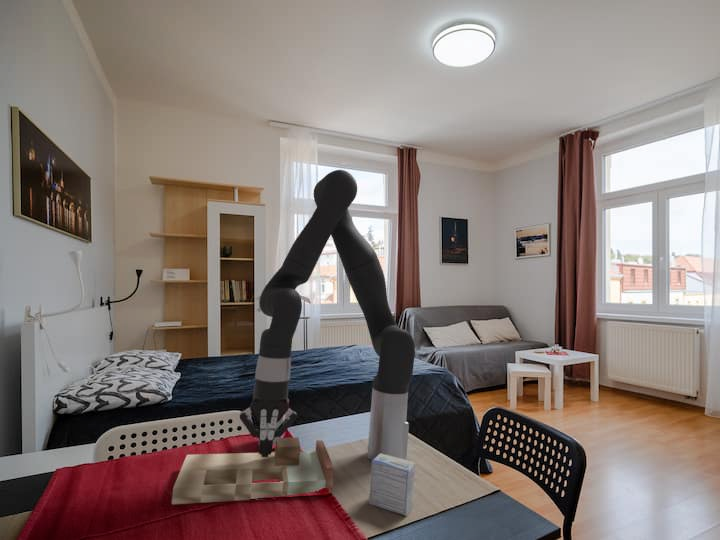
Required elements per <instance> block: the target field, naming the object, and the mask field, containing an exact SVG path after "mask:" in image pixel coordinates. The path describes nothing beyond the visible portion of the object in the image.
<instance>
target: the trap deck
mask: <svg viewBox="0 0 720 540" xmlns="http://www.w3.org/2000/svg"><path fill="white" fill-rule="evenodd" d="M182 463H183V464H182V466H181V468H180V470H179V473H178V475H177V478H176V481H175V482H174V485H173V488H172V495H171V505H187V504H201V503H217V502H218V503H220V502H234V501H235V502H236V501H237V502H239V501H251V500H250V499H256V500H258V499H257V498H264V497H273V496H285V495H293V494H294V495H295V494H301V493H308V492H315V491H319V490H321V489H323V488H328V489H329V490H330V492H331V493H332V494H333V485H334V473H335V471H334V470H335V465H334V464H333V462H332V460H331V457H330V455H329V452H328V450H327V447H326V445H325V442H324V440H323V439H321V440H320V439H319V440H316V441H315V450H310V451H309V450H306V451H305V450H304V451H301V450H300V458H299V465H288V466H275V451H274V452H273V451H272V453H271V454H268V457H261V454H259V452H239V453H237V452H235V453H232V452H231V453H206V454H205V453H204V454H203V453H202V454H201V453H200V454H199V453H196V454H186V456H185V458H184V461H183V462H182ZM268 479H280V480H281V481H280V482H259V483H252V482H253V481H259V480H268Z"/></svg>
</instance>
